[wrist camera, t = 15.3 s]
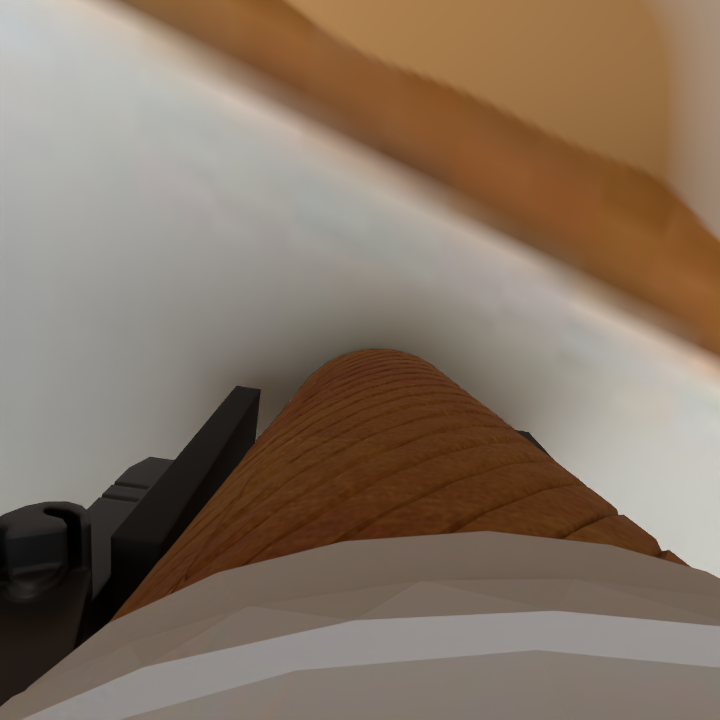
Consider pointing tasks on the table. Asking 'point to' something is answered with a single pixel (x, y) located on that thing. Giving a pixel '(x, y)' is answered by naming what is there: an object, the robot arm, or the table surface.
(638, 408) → the table surface
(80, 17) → the table surface
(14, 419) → the table surface
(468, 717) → the disposable coffee cup
